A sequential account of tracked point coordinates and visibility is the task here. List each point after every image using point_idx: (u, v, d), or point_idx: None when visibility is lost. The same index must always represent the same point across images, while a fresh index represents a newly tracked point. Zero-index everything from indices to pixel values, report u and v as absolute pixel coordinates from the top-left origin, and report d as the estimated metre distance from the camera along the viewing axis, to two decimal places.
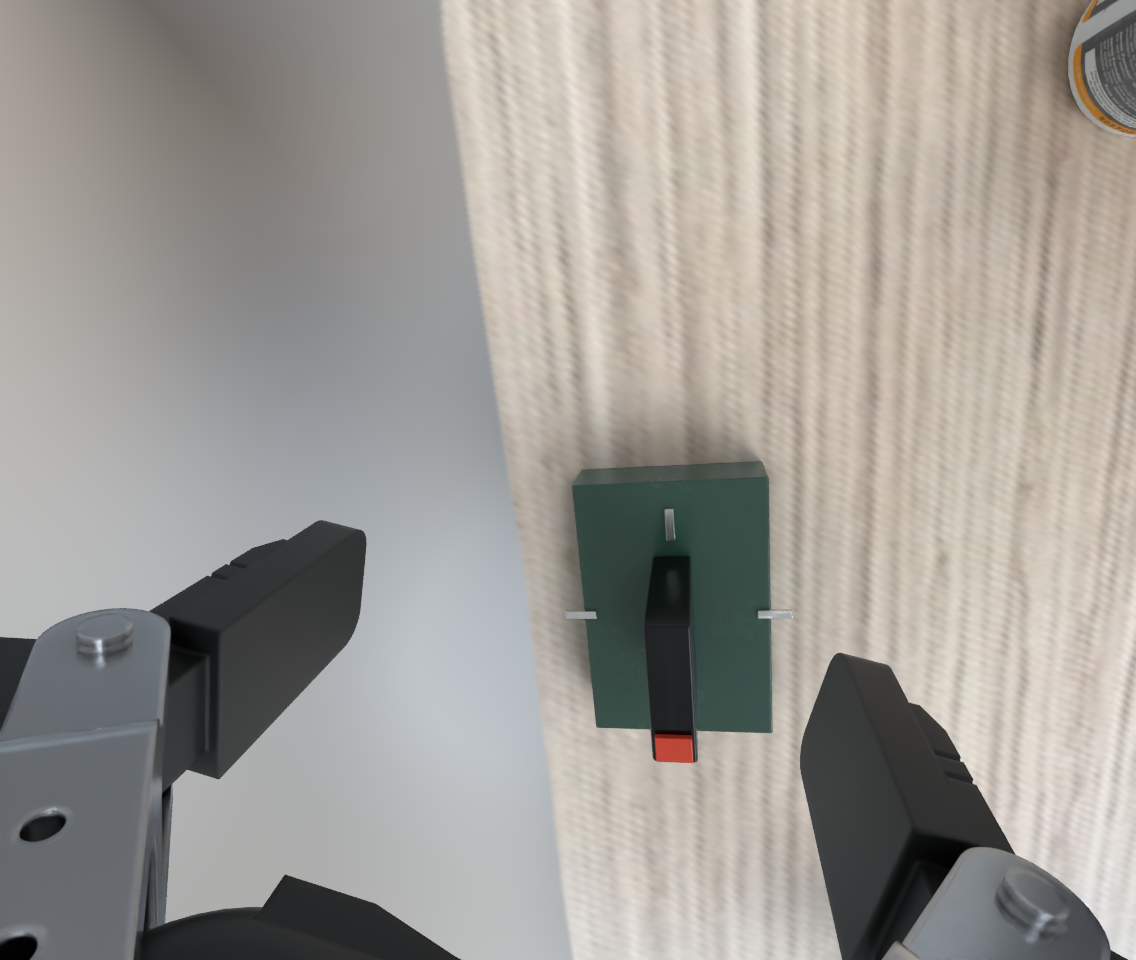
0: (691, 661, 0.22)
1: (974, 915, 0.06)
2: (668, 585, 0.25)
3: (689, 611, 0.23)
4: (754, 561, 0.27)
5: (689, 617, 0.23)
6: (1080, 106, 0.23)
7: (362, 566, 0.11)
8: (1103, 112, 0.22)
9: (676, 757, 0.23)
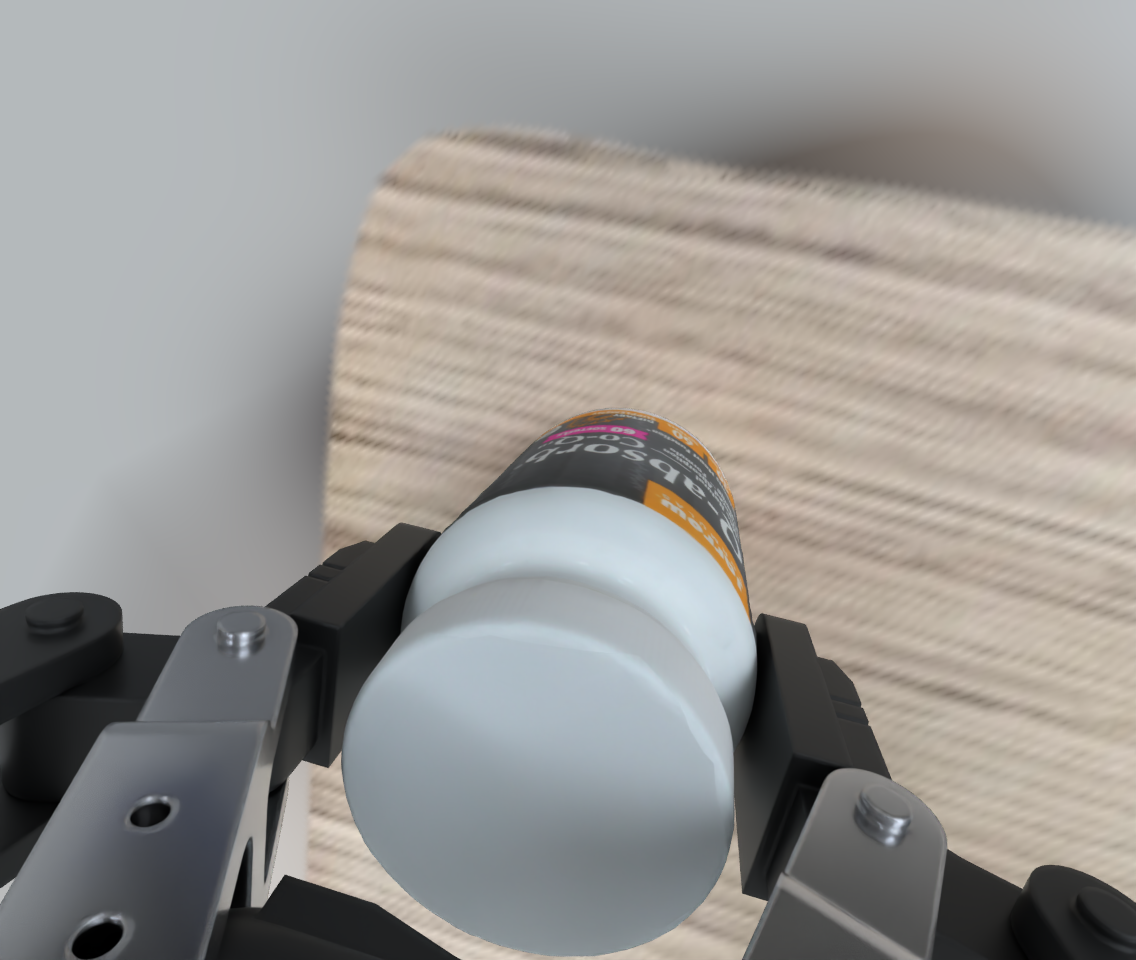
0: None
1: (840, 832, 0.06)
2: None
3: None
4: None
5: None
6: None
7: None
8: None
9: None
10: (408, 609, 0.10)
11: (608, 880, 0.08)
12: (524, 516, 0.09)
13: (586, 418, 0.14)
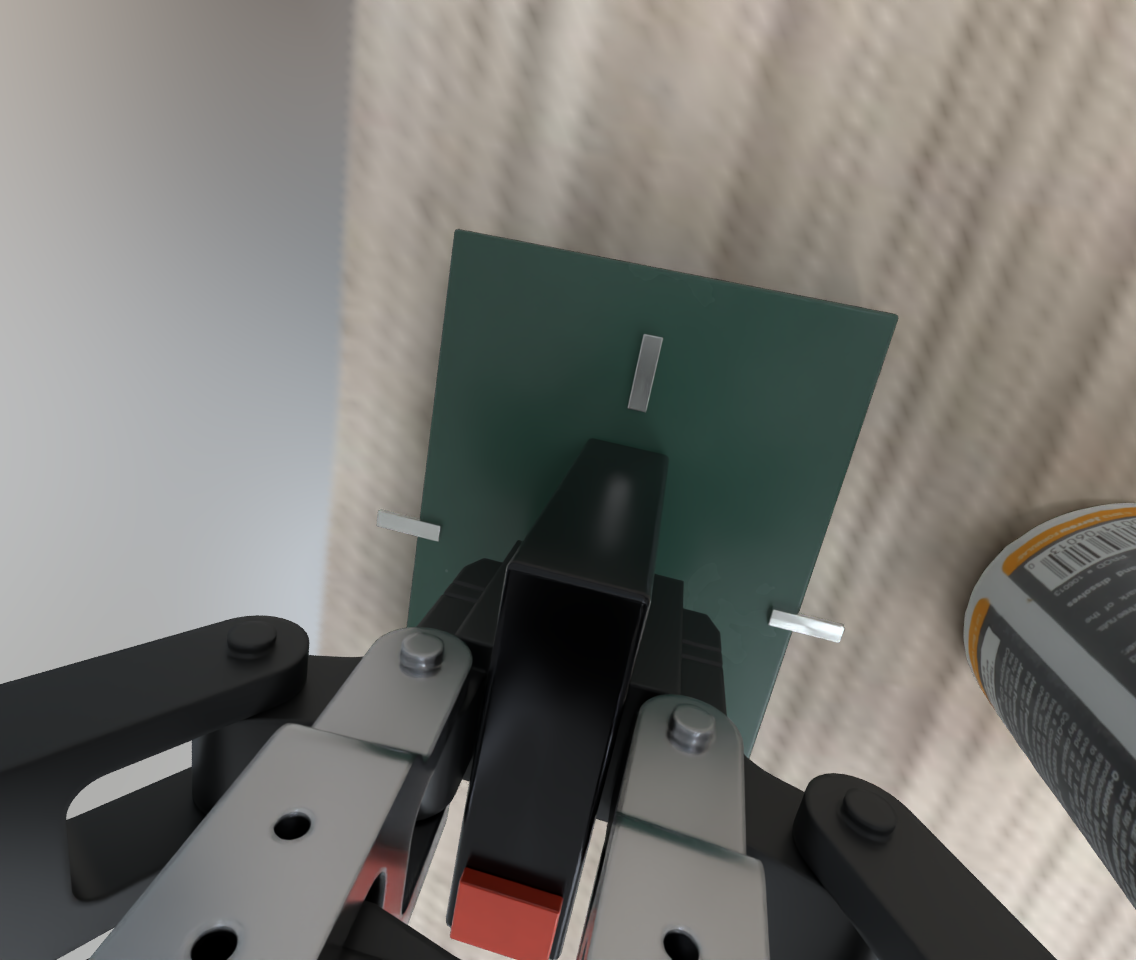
0: (621, 705, 0.07)
1: (659, 757, 0.07)
2: (608, 490, 0.10)
3: (653, 560, 0.08)
4: (800, 502, 0.12)
5: (651, 575, 0.07)
6: (968, 663, 0.15)
7: None
8: (991, 704, 0.14)
9: (505, 943, 0.08)
10: None
11: None
12: None
13: None
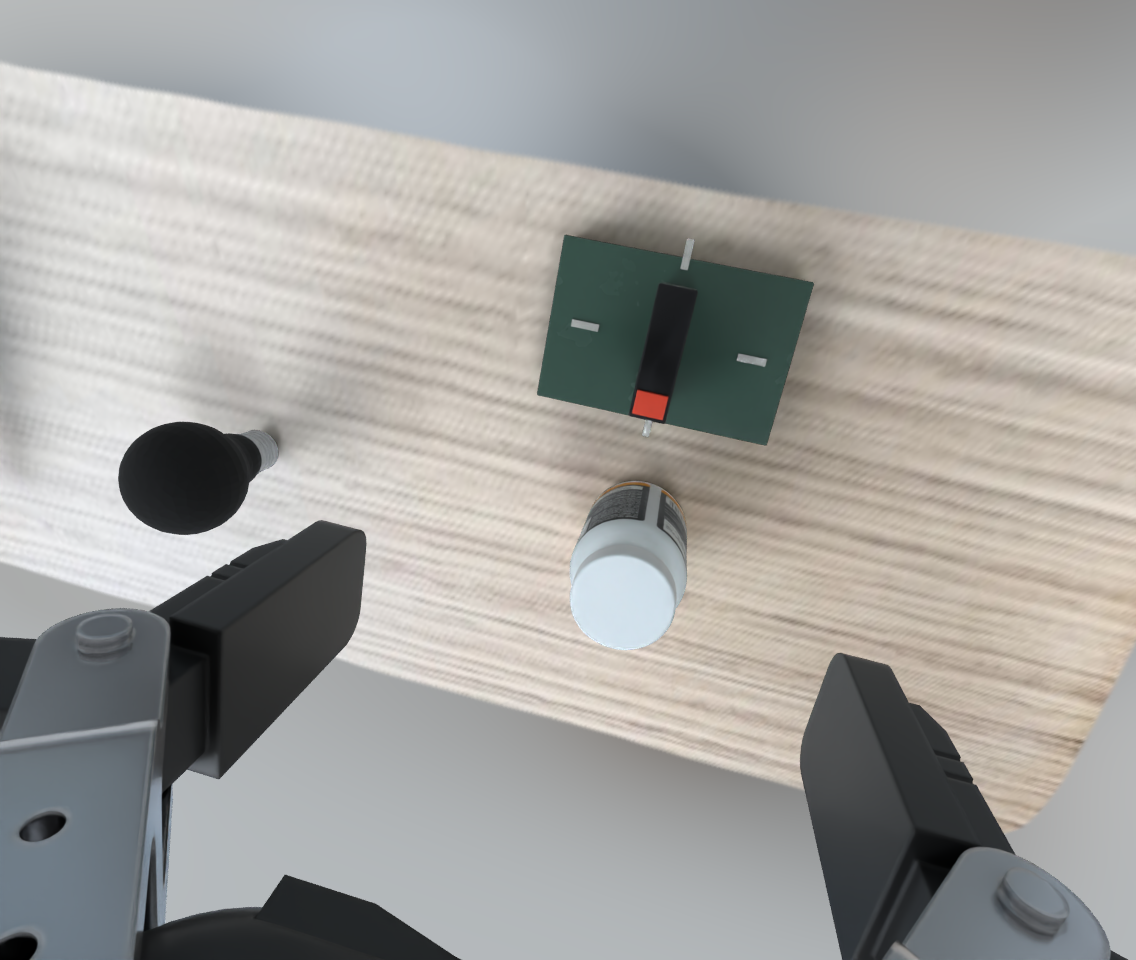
0: (688, 325, 0.26)
1: (974, 915, 0.06)
2: (679, 285, 0.29)
3: None
4: (698, 418, 0.33)
5: None
6: (617, 484, 0.37)
7: (362, 566, 0.11)
8: (608, 491, 0.36)
9: (649, 412, 0.27)
10: (677, 602, 0.31)
11: (600, 583, 0.29)
12: None
13: None
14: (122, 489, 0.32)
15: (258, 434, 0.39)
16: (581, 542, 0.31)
